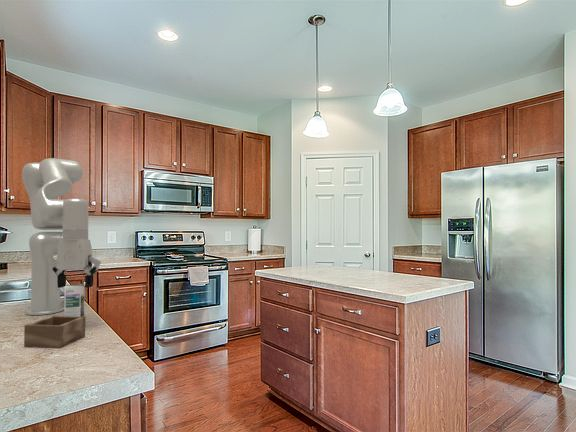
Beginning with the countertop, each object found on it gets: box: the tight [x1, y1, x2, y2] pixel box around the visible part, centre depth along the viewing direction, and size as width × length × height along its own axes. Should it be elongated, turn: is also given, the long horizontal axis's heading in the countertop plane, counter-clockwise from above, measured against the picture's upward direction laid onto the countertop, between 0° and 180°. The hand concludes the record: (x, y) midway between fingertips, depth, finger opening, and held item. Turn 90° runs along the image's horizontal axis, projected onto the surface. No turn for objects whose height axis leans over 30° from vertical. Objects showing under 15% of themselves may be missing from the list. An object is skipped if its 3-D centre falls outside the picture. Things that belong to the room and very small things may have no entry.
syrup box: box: [63, 283, 85, 317], centre depth 123 cm, size 6×6×14 cm
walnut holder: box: [23, 315, 86, 349], centre depth 109 cm, size 11×11×6 cm
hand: (75, 287), depth 123 cm, fingers open, 9 cm apart
